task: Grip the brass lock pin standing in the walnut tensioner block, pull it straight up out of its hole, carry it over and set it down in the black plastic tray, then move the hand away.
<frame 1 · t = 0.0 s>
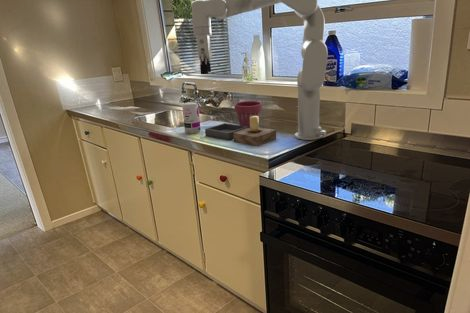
hand: (206, 73, 153), 31 cm above the countertop, tool pointing down, fingers open, 9 cm apart
supplement can: (193, 132, 182), on the countertop
plant pot: (249, 127, 184), on the countertop
brass pin: (254, 128, 159), in the tensioner block
tensioner block: (254, 139, 161), on the countertop
black tray: (227, 134, 172), on the countertop
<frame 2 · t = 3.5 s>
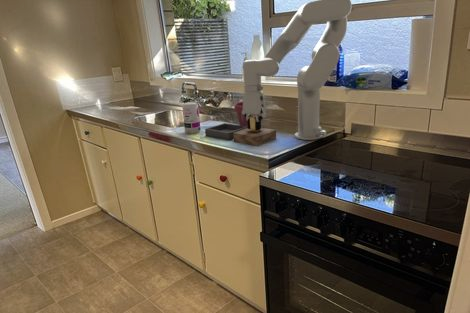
hand: (254, 128, 159), 5 cm above the countertop, tool pointing down, fingers closed on brass pin, 4 cm apart
brass pin: (254, 128, 159), in the tensioner block, touching gripper
everything else where it was.
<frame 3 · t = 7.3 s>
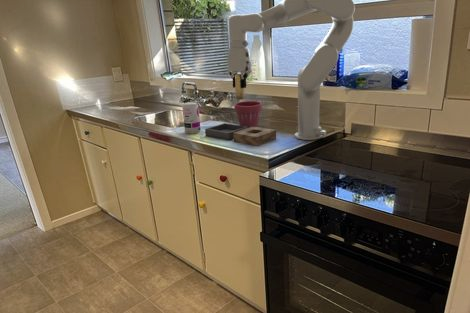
hand: (239, 87, 158), 24 cm above the countertop, tool pointing down, fingers closed on brass pin, 4 cm apart
brass pin: (239, 86, 158), point 24 cm above the countertop, touching gripper
everything else where it was.
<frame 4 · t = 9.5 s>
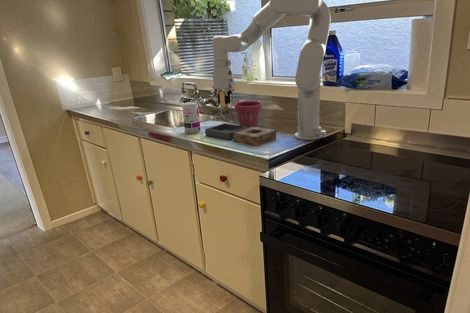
hand: (224, 102, 167), 16 cm above the countertop, tool pointing down, fingers closed on brass pin, 4 cm apart
brass pin: (224, 102, 167), point 16 cm above the countertop, touching gripper
everything else where it was.
when the fingers open (8 cm above the countertop, at t = 11.3 s): brass pin drops 1 cm, resting on black tray.
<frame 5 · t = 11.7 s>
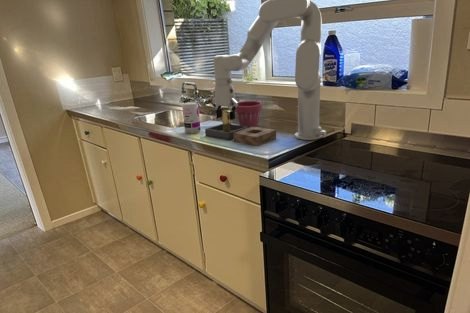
hand: (225, 118, 170), 8 cm above the countertop, tool pointing down, fingers open, 8 cm apart
brass pin: (226, 122, 170), in the black tray, point 6 cm above the countertop
everything else where it was.
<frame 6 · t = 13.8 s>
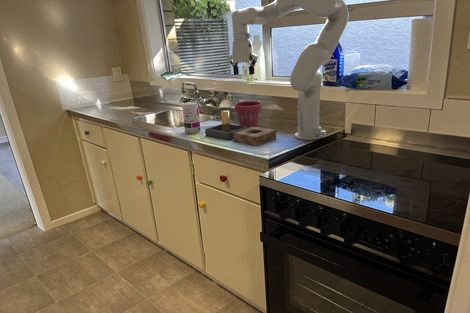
hand: (243, 74, 169), 28 cm above the countertop, tool pointing down, fingers open, 9 cm apart
nothing on the countertop moved.
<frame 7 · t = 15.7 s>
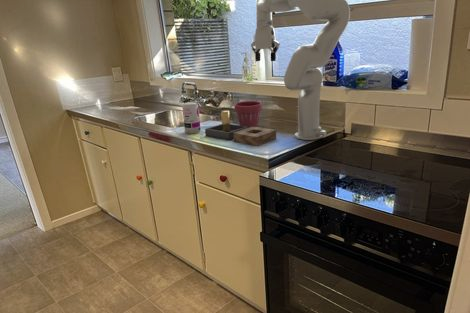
hand: (265, 61, 175), 33 cm above the countertop, tool pointing down, fingers open, 9 cm apart
nothing on the countertop moved.
at the end: brass pin inside the target area on the black tray (0.1 cm from its centre), point 6.4 cm above the black tray's base; the gripper is holding nothing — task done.
